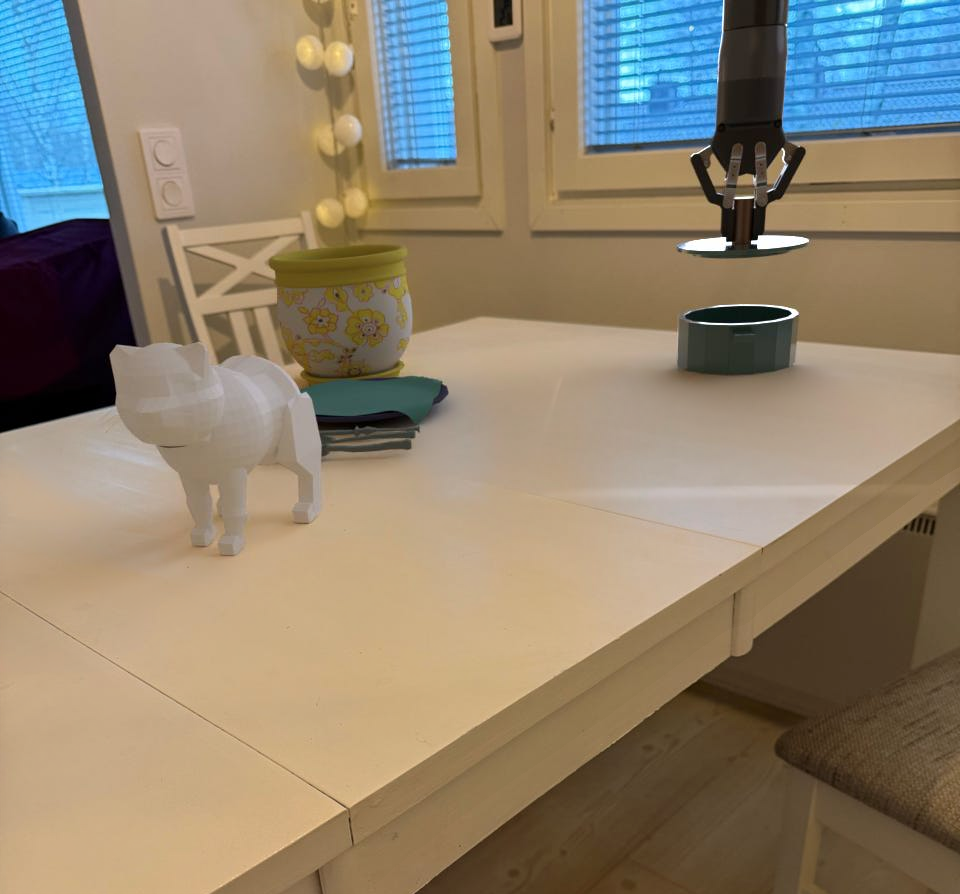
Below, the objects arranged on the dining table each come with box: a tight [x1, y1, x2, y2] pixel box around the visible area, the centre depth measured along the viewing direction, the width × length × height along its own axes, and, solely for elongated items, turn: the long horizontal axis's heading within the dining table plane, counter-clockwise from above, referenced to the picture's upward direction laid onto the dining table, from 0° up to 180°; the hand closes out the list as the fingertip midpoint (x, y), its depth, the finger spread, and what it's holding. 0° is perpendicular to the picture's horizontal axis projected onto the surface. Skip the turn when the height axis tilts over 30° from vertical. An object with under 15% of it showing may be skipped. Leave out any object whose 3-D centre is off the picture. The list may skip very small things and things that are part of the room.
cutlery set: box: [299, 375, 449, 458], centre depth 109 cm, size 20×30×2 cm, turn 176°
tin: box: [676, 304, 800, 376], centre depth 121 cm, size 15×20×6 cm
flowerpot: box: [268, 243, 413, 386], centre depth 127 cm, size 18×18×16 cm
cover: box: [675, 196, 810, 260], centre depth 114 cm, size 16×16×6 cm
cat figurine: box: [98, 341, 323, 556], centre depth 77 cm, size 25×10×17 cm, turn 164°
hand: (741, 240), depth 115 cm, fingers closed on cover, 2 cm apart
